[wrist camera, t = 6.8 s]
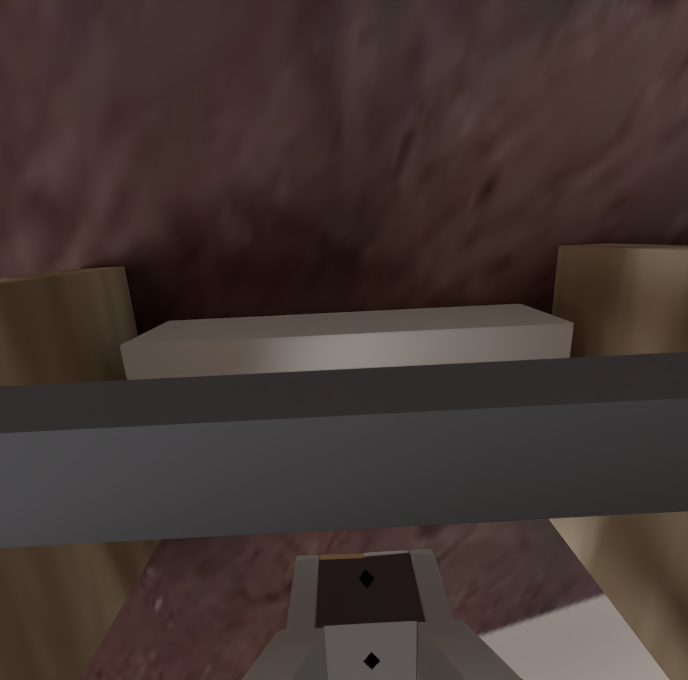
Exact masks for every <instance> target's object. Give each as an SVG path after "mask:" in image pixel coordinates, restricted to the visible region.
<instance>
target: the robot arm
mask: <svg viewBox="0 0 688 680" xmlns="http://www.w3.org/2000/svg"><path fill="white" fill-rule="evenodd" d="M242 680H522V679H521V678H520V677H519V676H518V675H517V674H516V673H515V672H514V671H513V670H512V669H511V668H510V667H509V666H508V665H507V664H506V663H505V662H504V661H503V660H502V659H501V658H500V657H499V656H498V655H497V654H496V653H495V652H494V651H493V650H492V649H491V648H490V647H489V646H488V645H487V644H486V643H485V642H484V641H483V640H482V639H481V638H480V637H479V636H478V635H477V634H476V633H475V632H474V631H473V630H471V629H470V628H469V627H468V626H467V625H466V624H465V623H464V622H463V621H462V620H454V617H453V614H452V611H451V607H450V604H449V601H448V598H447V595H446V591H445V588H444V585H443V582H442V579H441V575H440V572H439V569H438V566H437V563H436V559H435V556H434V553H433V551H432V550H431V549H419V550H408V551H407V550H404V551H389V552H373V553H364V554H327V555H308V556H297V558H296V561H295V565H294V573H293V581H292V589H291V597H290V604H289V612H288V620H287V628H286V629H285V630H279V631H278V632H277V633H276V635H275V636H274V637H273V639H272V640H271V641H270V643H269V644H268V645H267V647H266V648H265V649H264V651H263V652H262V653H261V655H260V656H259V657H258V659H257V660H256V661H255V663H254V664H253V665H252V667H251V668H250V669H249V671H248V672H247V673H246V675H245V676H244V677H243V679H242Z"/></svg>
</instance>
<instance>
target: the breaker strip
mask: <svg viewBox="0 0 688 680" xmlns="http://www.w3.org/2000/svg"><path fill="white" fill-rule="evenodd" d="M573 325H574V323H572V322H570V321H567V320H564V319H561V318H559V317H556V316H553V315H550V314H548V313H545V312H542V311H539V310H536V309H534V308H531V307H528V306H525V305H523V304H502V305H482V306H462V307H441V308H421V309H400V310H380V311H359V312H339V313H319V314H298V315H278V316H257V317H237V318H217V319H196V320H176V321H167V322H165V323H163V324H161V325H159V326H157V327H155V328H153V329H151V330H149V331H147V332H145V333H143V334H141V335H139V336H137V337H136V338H134V339H132V340H130V341H128V342H126V343H124V344H122V345H120V350H121V354H122V359H123V364H124V368H125V373H126V378H127V380H137V379H157V378H177V377H197V376H217V375H237V374H257V373H277V372H297V371H317V370H337V369H356V368H376V367H396V366H416V365H436V364H456V363H476V362H496V361H516V360H536V359H556V358H570V350H571V342H572V334H573Z"/></svg>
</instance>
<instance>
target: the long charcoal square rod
mask: <svg viewBox="0 0 688 680" xmlns="http://www.w3.org/2000/svg"><path fill="white" fill-rule="evenodd" d="M685 511H688V352H676V353H656V354H636V355H616V356H596V357H576V358H556V359H536V360H516V361H496V362H476V363H456V364H436V365H416V366H396V367H376V368H356V369H337V370H317V371H297V372H277V373H257V374H237V375H217V376H197V377H177V378H157V379H137V380H117V381H97V382H77V383H57V384H37V385H18V386H0V548H11V547H30V546H48V545H67V544H86V543H104V542H123V541H142V540H161V539H179V538H198V537H217V536H235V535H254V534H273V533H292V532H310V531H329V530H348V529H366V528H385V527H404V526H423V525H441V524H460V523H479V522H497V521H516V520H535V519H554V518H572V517H591V516H610V515H629V514H647V513H666V512H685Z"/></svg>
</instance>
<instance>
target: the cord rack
mask: <svg viewBox="0 0 688 680" xmlns="http://www.w3.org/2000/svg"><path fill="white" fill-rule="evenodd" d="M552 315H553V316H556V317H559V318H561V319H564V320H567V321H570V322H572V323H574V325H573V334H572V342H571V350H570V358H576V357H596V356H616V355H636V354H656V353H676V352H688V246H687V245H647V244H606V243H603V244H582V245H561V246H559V248H558V258H557V268H556V277H555V287H554V297H553V307H552ZM137 336H138V333H137V328H136V323H135V318H134V313H133V307H132V302H131V297H130V292H129V287H128V282H127V277H126V272H125V267H124V266H122V267H101V268H81V269H71V270H63V271H55V272H47V273H39V274H30V275H22V276H14V277H6V278H0V386H18V385H37V384H57V383H77V382H97V381H117V380H127V378H126V373H125V368H124V364H123V359H122V354H121V350H120V345H122V344H124V343H126V342H128V341H130V340H132V339H134V338H136V337H137ZM549 520H550V521H551V523H552V524H553V525H554V527H555V528H556V529H557V531H558V532H559V533H560V535H561V536H562V537H563V539H564V540H565V541H566V543H567V544H568V545H569V547H570V548H571V549H572V551H573V552H574V553H575V555H576V556H577V557H578V559H579V560H580V561H581V562H582V564H583V565H584V566H585V568H586V569H587V570H588V572H589V573H590V574H591V576H592V577H593V578H594V580H595V581H596V582H597V584H598V585H599V586H600V588H601V589H602V590H603V592H604V593H605V594H606V596H607V597H608V598H609V600H610V601H611V602H612V604H613V605H614V606H615V608H616V609H617V610H618V612H619V613H620V614H621V616H622V617H623V618H624V619H625V621H626V622H627V623H628V625H629V626H630V627H631V629H632V630H633V631H634V633H635V634H636V635H637V637H638V638H639V639H640V641H641V642H642V643H643V645H644V646H645V647H646V649H647V650H648V651H649V653H650V654H651V655H652V657H653V658H654V659H655V661H656V662H657V663H658V665H659V666H660V667H661V669H662V670H663V671H664V673H665V674H666V675H667V677H668V678H669V679H670V680H688V511H685V512H666V513H647V514H629V515H610V516H591V517H572V518H554V519H549ZM159 542H160V540H142V541H123V542H104V543H86V544H67V545H48V546H30V547H11V548H0V680H80V678H81V677H82V675H83V673H84V671H85V670H86V668H87V666H88V665H89V663H90V661H91V659H92V658H93V656H94V654H95V652H96V651H97V649H98V647H99V646H100V644H101V642H102V640H103V639H104V637H105V635H106V633H107V632H108V630H109V628H110V627H111V625H112V623H113V621H114V620H115V618H116V616H117V614H118V613H119V611H120V609H121V608H122V606H123V604H124V602H125V601H126V599H127V597H128V595H129V594H130V592H131V590H132V589H133V587H134V585H135V583H136V582H137V580H138V578H139V576H140V575H141V573H142V571H143V570H144V568H145V566H146V564H147V563H148V561H149V559H150V557H151V556H152V554H153V552H154V551H155V549H156V547H157V545H158V544H159Z"/></svg>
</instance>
